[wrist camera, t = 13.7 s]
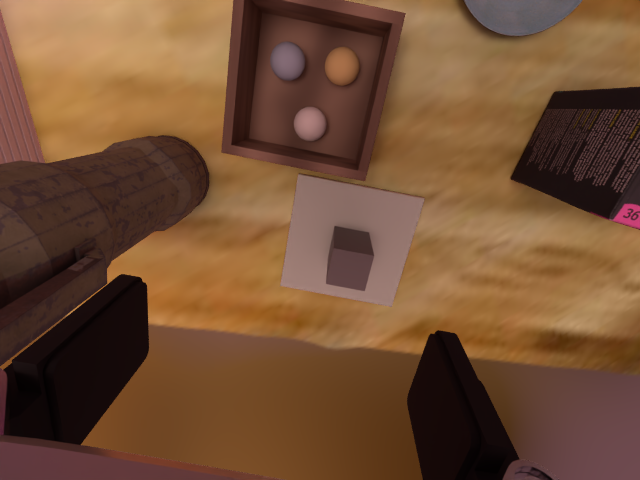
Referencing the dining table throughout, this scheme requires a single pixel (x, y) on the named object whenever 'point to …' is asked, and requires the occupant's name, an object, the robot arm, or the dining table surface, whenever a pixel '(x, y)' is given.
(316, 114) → the ball
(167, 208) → the thermos
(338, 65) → the ball
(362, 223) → the lid
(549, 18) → the saucer
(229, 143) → the box
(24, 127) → the pink rectangular block
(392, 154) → the dining table surface
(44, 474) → the robot arm
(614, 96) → the tampon box
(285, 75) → the ball
